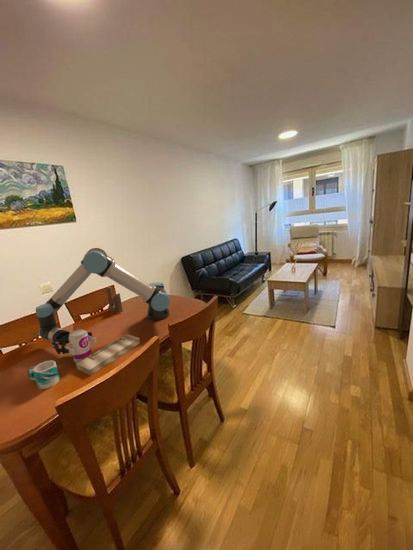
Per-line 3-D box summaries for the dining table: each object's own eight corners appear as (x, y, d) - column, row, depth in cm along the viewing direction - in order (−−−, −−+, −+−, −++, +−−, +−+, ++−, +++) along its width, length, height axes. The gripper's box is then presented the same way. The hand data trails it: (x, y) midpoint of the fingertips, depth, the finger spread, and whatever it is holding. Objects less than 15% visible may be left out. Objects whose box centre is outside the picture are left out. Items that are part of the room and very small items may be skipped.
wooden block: (119, 313, 174) (115, 289, 169) (108, 311, 179) (104, 288, 174) (123, 311, 177) (119, 287, 172) (112, 309, 182) (108, 286, 177)
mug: (48, 390, 100) (44, 372, 98) (25, 387, 103) (19, 370, 100) (63, 376, 108) (59, 360, 106) (41, 374, 110) (36, 358, 108)
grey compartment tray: (127, 338, 137) (126, 333, 136) (140, 342, 132) (139, 337, 131) (77, 369, 112) (76, 363, 112) (90, 375, 107) (89, 369, 107)
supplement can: (96, 356, 122) (90, 329, 118) (82, 366, 115) (75, 338, 111) (85, 353, 125) (79, 327, 121) (70, 362, 118) (63, 335, 114)
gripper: (81, 332, 137) (107, 341, 126) (37, 354, 118) (62, 366, 107) (79, 320, 135) (104, 328, 124) (34, 340, 116) (59, 351, 105)
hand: (85, 346), depth 115 cm, fingers open, 10 cm apart
